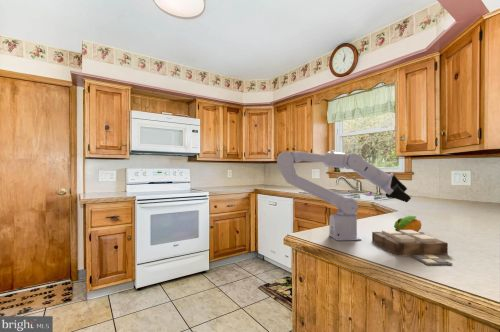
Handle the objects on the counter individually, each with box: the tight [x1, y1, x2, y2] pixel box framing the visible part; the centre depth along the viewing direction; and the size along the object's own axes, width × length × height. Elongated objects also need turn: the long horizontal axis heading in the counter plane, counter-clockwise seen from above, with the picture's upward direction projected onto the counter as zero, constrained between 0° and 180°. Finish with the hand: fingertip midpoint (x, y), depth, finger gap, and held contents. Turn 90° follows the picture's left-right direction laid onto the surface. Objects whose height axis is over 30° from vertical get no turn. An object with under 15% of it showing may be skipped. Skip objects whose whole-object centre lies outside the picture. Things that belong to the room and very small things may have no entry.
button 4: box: [412, 234, 436, 242], centre depth 81 cm, size 4×4×2 cm
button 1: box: [381, 229, 402, 237], centre depth 87 cm, size 4×4×2 cm
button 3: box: [399, 230, 422, 237], centre depth 87 cm, size 4×4×2 cm
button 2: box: [393, 235, 415, 243], centre depth 80 cm, size 4×4×2 cm
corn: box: [393, 215, 422, 233], centre depth 100 cm, size 7×8×20 cm
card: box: [409, 255, 453, 267], centre depth 72 cm, size 7×7×1 cm
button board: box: [371, 231, 449, 256], centre depth 84 cm, size 16×14×4 cm
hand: (406, 195), depth 93 cm, fingers open, 7 cm apart
